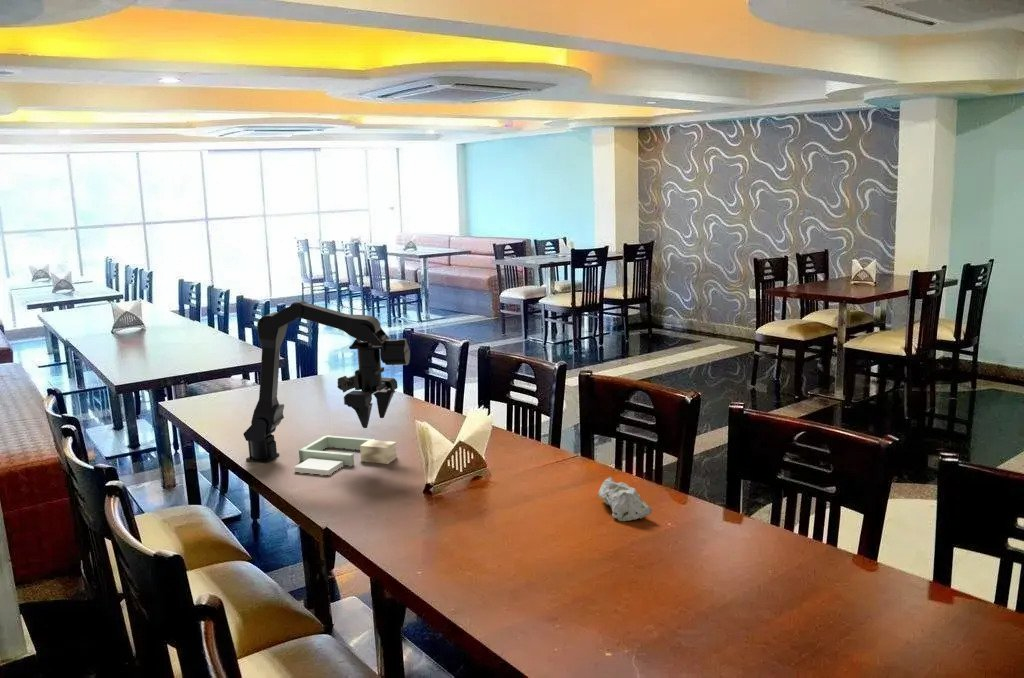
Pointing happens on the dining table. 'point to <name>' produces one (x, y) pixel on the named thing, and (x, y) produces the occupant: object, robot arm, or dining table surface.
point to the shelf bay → (332, 441)
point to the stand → (318, 466)
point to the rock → (623, 500)
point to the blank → (378, 451)
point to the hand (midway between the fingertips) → (373, 422)
